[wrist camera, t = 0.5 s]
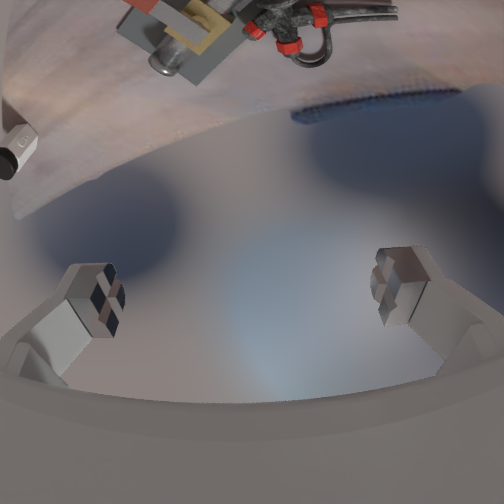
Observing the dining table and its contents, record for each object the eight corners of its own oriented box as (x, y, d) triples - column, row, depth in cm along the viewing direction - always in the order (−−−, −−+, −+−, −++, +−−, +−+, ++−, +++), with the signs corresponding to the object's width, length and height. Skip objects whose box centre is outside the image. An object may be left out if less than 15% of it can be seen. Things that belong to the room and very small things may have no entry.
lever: (213, 28, 32) (209, 32, 30) (199, 42, 34) (194, 47, 32) (139, -21, 24) (130, -20, 23) (126, -6, 26) (117, -3, 24)
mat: (199, -61, 24) (198, -62, 24) (286, 5, 35) (287, 5, 34) (118, 31, 37) (116, 32, 37) (197, 84, 48) (196, 86, 47)
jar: (44, 140, 55) (19, 172, 48) (29, 154, 58) (6, 186, 51) (23, 116, 48) (-5, 147, 41) (9, 132, 51) (-17, 163, 44)
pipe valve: (232, -33, 29) (227, -34, 24) (265, -7, 33) (265, -5, 28) (152, 49, 41) (137, 62, 36) (182, 70, 44) (172, 85, 40)
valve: (255, 70, 46) (231, 1, 33) (389, 49, 42) (386, -18, 28) (260, 87, 44) (233, 11, 30) (404, 66, 39) (405, -8, 26)
